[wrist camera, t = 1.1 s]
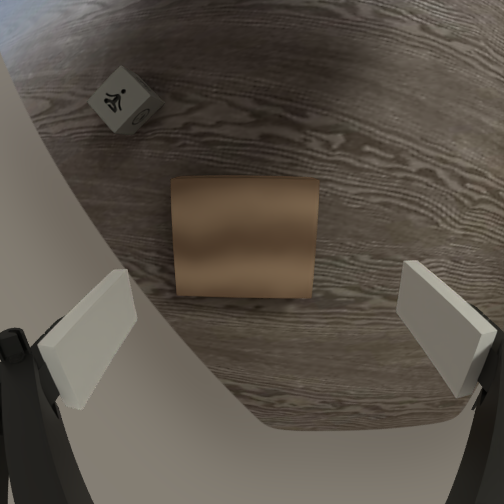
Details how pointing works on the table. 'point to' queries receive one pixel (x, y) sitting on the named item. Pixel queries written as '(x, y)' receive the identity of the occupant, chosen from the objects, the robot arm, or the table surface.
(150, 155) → the table surface
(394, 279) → the table surface
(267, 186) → the brown flat block
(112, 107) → the dice cube
